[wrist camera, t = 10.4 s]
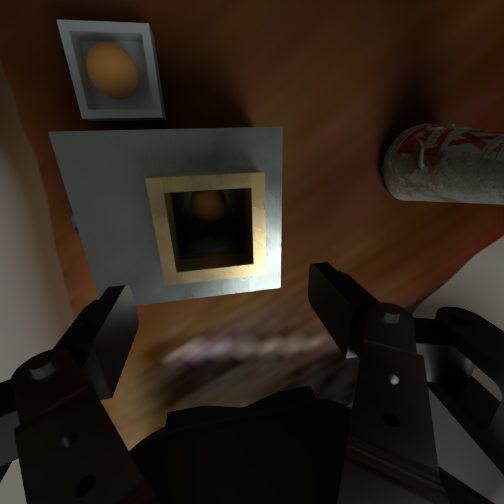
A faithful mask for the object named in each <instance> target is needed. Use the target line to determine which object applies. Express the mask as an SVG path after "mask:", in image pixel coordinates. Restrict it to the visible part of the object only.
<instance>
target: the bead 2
mask: <svg viewBox="0 0 504 504" xmlns="http://www.w3.org/2000/svg"><path fill="white" fill-rule="evenodd" d="M190 207H191V210H192V212H193V214H194V215H195V216H196V217H197V218H198V219H200V220H202V221H204V222H214V221H217V220H219V219H220V218H221V217H222V216H223V215H224V214H225V212H226V210H227V199H226V196H225V194H224V193H223V191H222V190H221V189H220V190H203V191H194V192H193V194H192V196H191V199H190Z"/></svg>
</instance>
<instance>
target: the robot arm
mask: <svg viewBox="0 0 504 504" xmlns="http://www.w3.org/2000/svg"><path fill="white" fill-rule="evenodd" d="M308 298H309V302H310V305H311V307H312V308H313V310H314V311H315V313H316V314H317V316H318V317H319V319H320V320H321V322H322V323H323V325H324V326H325V328H326V329H327V331H328V332H329V334H330V335H331V337H332V338H333V340H334V341H335V343H336V344H337V346H338V347H339V349H340V350H341V352H342V353H343V355H344V356H345V358H352V357H358V358H359V359H360V363H359V369H358V375H357V381H356V387H355V393H354V400H353V406H352V409H351V408H349V407H347V406H345V405H343V404H341V403H338V402H335V401H332V400H328V399H323V398H315V396H314V393H313V391H312V389H311V386H307V387H302V388H296V389H291V390H285V391H280V392H276V393H274V394H272V395H270V396H268V397H265V398H263V399H261V400H259V401H257V402H255V403H252V404H250V405H248V406H246V407H242V408H238V407H222V406H199V407H194V408H188V409H183V410H178V411H172V412H168V413H167V420H166V426H165V427H163V428H161V429H159V430H157V431H155V432H153V433H152V434H150V435H149V436H147V437H146V438H144V439H143V440H142V441H140V442H139V443H138V444H137V445H136V446H135V447H133V448H132V449H131V450H130V451H128V449H127V447H126V445H125V444H124V442H123V440H122V438H121V437H120V435H119V433H118V431H117V429H116V428H115V426H114V424H113V422H112V421H111V419H110V417H109V415H108V413H107V412H106V410H105V408H104V406H103V405H102V403H101V401H100V400H103V399H109V398H112V397H113V394H114V392H115V389H116V386H117V384H118V381H119V378H120V376H121V373H122V370H123V368H124V365H125V362H126V359H127V357H128V354H129V351H130V349H131V346H132V343H133V341H134V338H135V335H136V333H137V330H138V314H137V310H136V306H135V302H134V299H133V295H132V291H131V288H130V286H129V285H119V286H110V287H108V288H107V289H106V290H105V292H104V293H103V294H102V296H101V297H100V299H99V300H94V301H93V302H92V303H90V304H89V305H87V306H86V307H85V308H84V309H83V310H82V311H81V313H80V314H79V315H78V316H77V318H76V319H75V320H74V322H73V323H72V326H70V327H69V329H68V330H67V331H66V333H65V334H64V335H63V336H62V338H61V339H60V340H59V342H58V343H57V344H56V346H55V347H54V348H53V349H51V350H48V351H45V352H42V353H40V354H38V355H36V356H34V357H32V358H30V359H29V360H27V361H26V362H24V363H23V364H22V365H21V366H19V367H18V368H17V369H16V371H15V372H14V374H13V375H12V377H11V379H10V380H7V381H4V382H1V383H0V482H1V480H2V479H3V477H4V475H5V473H6V472H7V470H8V468H9V466H10V464H11V463H12V461H13V460H16V459H18V458H19V463H20V468H21V475H22V480H23V486H24V491H25V496H26V502H27V504H494V503H493V502H491V501H490V500H488V499H487V498H485V497H484V496H482V495H481V494H479V493H478V492H476V491H475V490H473V489H472V488H470V487H468V486H467V485H466V484H464V483H463V482H461V481H460V480H458V479H457V478H455V477H454V476H452V475H451V474H449V473H448V472H446V471H444V470H443V469H442V468H440V467H439V466H438V461H437V454H436V447H435V438H434V430H433V423H432V416H431V407H430V400H429V392H428V387H429V389H430V390H431V391H432V392H433V393H434V394H435V396H436V397H437V398H438V399H439V400H440V401H441V403H442V404H443V405H444V406H445V407H446V408H447V410H448V411H449V412H450V413H451V414H452V415H453V417H454V418H455V419H456V420H457V421H458V422H459V424H460V425H461V426H462V427H463V428H464V429H465V430H466V432H467V433H468V434H469V435H470V436H471V438H472V439H473V440H474V441H475V442H476V443H477V445H478V446H479V447H480V448H481V449H482V450H483V452H484V453H485V454H486V455H487V456H488V457H489V458H490V460H491V461H492V462H493V463H494V464H495V465H496V467H497V468H498V469H499V470H500V471H501V473H502V474H503V475H504V331H502V330H501V329H499V328H498V327H496V326H495V325H493V324H492V323H490V322H489V321H487V320H485V319H484V318H482V317H481V316H479V315H477V314H475V313H473V312H471V311H468V310H465V309H461V308H457V307H442V308H439V309H438V310H437V313H436V316H435V319H426V318H425V319H424V318H413V316H412V315H411V313H410V312H409V311H407V310H406V309H404V308H402V307H400V306H398V305H395V304H391V303H384V302H379V301H378V300H377V299H376V298H374V297H373V296H372V295H371V294H370V293H369V292H368V291H367V290H365V289H364V288H362V286H361V285H360V284H359V283H357V282H356V281H355V280H354V279H353V278H352V277H351V276H349V275H347V274H345V273H343V272H341V271H337V270H336V269H335V268H334V267H332V266H331V265H330V264H329V263H328V262H323V263H315V264H311V265H310V268H309V286H308ZM475 365H476V366H477V367H478V368H479V369H480V370H482V371H483V372H484V373H485V374H486V375H487V376H488V377H490V378H491V379H492V380H493V381H494V382H495V383H496V384H497V386H498V387H499V389H500V391H501V393H502V401H501V402H500V401H499V400H498V399H496V398H495V397H494V396H493V395H492V394H491V393H490V392H489V391H487V389H486V388H484V387H483V386H482V385H481V384H480V383H479V382H478V381H477V380H475V378H474V377H472V376H471V375H472V372H473V370H474V367H475Z"/></svg>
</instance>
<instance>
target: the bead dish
mask: <svg viewBox="0 0 504 504" xmlns="http://www.w3.org/2000/svg"><path fill="white" fill-rule="evenodd" d="M57 23H58V27H59V31H60V35H61V39H62V43H63V47H64V51H65V54H66V58H67V62H68V66H69V70H70V74H71V78H72V82H73V86H74V89H75V93H76V97H77V101H78V105H79V109H80V113H81V117H82V119H86V120H90V121H145V120H166V116H165V110H164V103H163V96H162V89H161V82H160V75H159V68H158V61H157V54H156V47H155V40H154V35H153V32H152V30H151V28H150V25H149V23H130V22H106V21H82V20H58V19H57ZM103 42H107V43H113V44H115V45H118V46H119V47H121V48H123V49H124V50H125V51H126V52H127V53H128V54H129V55H130V56H131V57H132V59H133V60H134V62H135V64H136V66H137V69H138V73H139V84H138V88H137V90H136V91H135V93H134V94H133V95H132V96H130V97H128V98H126V99H114V98H111V97H108V96H106V95H105V94H103V93H102V92H101V91H99V90H98V89H97V88H96V86H95V85H94V84H93V82H92V81H91V79H90V77H89V75H88V72H87V67H86V59H87V55H88V52H89V51H90V49H91V48H92V47H93V46H95V45H96V44H99V43H103Z"/></svg>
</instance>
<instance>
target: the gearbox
mask: <svg viewBox="0 0 504 504" xmlns="http://www.w3.org/2000/svg"><path fill="white" fill-rule="evenodd" d="M48 134H49V137H50V140H51V143H52V147H53V150H54V153H55V156H56V160H57V163H58V166H59V169H60V173H61V176H62V179H63V182H64V185H65V189H66V192H67V195H68V198H69V202H70V205H71V211H70V216H71V222H72V225H73V227H74V229H75V231H76V232H77V233H78V234H80V237H81V240H82V244H83V247H84V250H85V253H86V257H87V260H88V263H89V266H90V270H91V273H92V276H93V279H94V283H95V286H96V289H97V292H98V296H99V299H100V297H101V296H102V294H103V293H104V292H105V290H106V289H107V288H108V287H110V286H119V285H129V286H130V288H131V291H132V295H133V299H134V302H135V306H137V305H145V304H153V303H161V302H169V301H177V300H185V299H193V298H201V297H209V296H217V295H225V294H233V293H241V292H249V291H257V290H265V289H273V288H281V213H282V139H283V127H245V128H198V129H152V130H106V131H60V132H48ZM220 189H221V190H222V191H223V193H224V194H225V196H226V199H227V210H226V212H225V214H224V215H223V216H222V217H221V218H220V219H219V220H217V221H214V222H204V221H202V220H200V219H198V218H197V217H196V216H195V215H194V214H193V212H192V210H191V207H190V199H191V196H192V194H193V192H194V191H203V190H220Z"/></svg>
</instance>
